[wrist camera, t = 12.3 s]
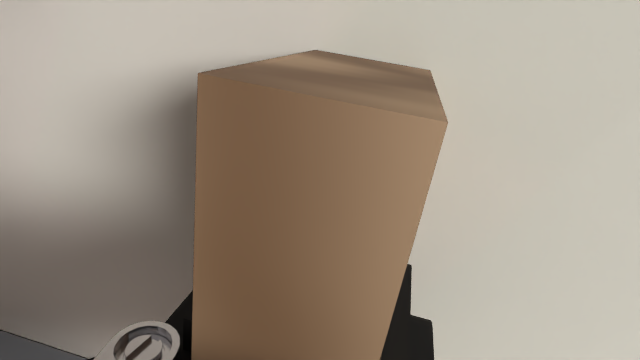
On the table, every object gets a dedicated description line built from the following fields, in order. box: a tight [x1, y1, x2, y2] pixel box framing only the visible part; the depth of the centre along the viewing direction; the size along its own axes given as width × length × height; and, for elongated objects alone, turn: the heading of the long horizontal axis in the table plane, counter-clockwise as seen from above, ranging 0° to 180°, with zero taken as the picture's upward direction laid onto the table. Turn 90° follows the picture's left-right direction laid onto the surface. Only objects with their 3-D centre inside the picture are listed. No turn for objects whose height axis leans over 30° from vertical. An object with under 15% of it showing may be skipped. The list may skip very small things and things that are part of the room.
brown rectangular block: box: [191, 50, 448, 360], centre depth 10 cm, size 3×12×6 cm, turn 171°
